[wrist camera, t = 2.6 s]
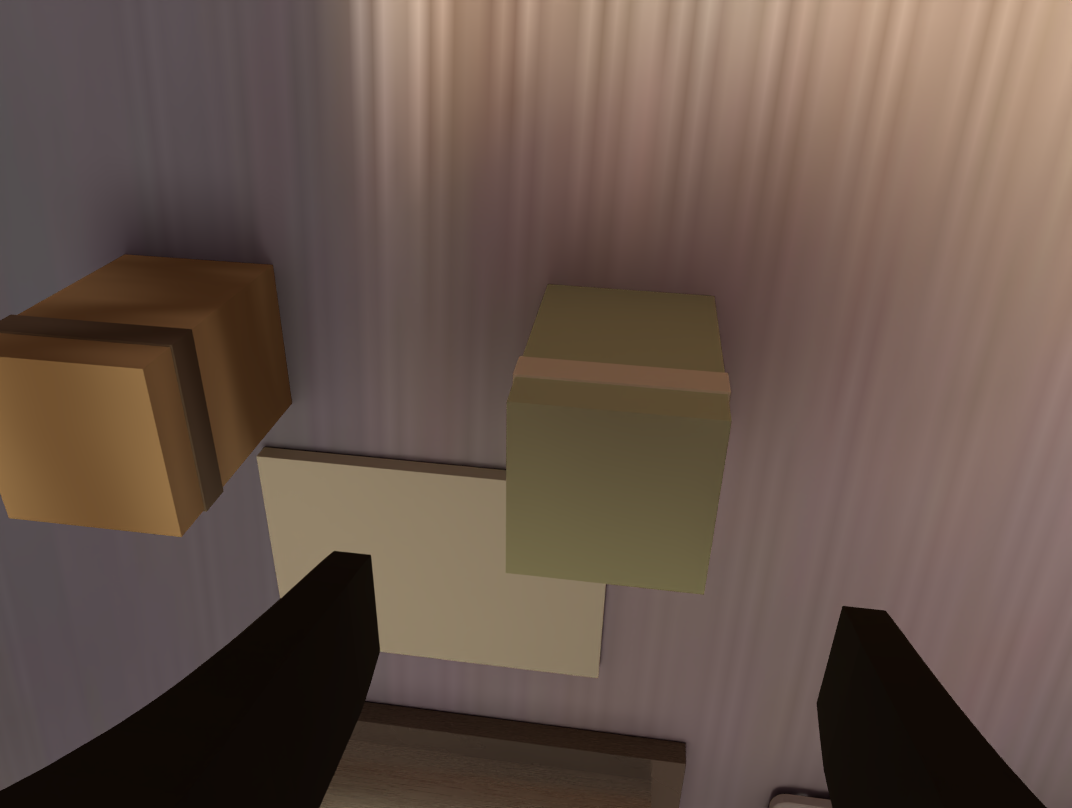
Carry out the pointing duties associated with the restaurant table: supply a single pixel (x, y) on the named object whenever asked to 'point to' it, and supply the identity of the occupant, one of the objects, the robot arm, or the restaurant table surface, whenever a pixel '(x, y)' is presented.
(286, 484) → the pad
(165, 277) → the oak block
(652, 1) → the restaurant table surface
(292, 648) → the robot arm
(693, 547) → the sage block
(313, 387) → the restaurant table surface
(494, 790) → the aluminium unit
